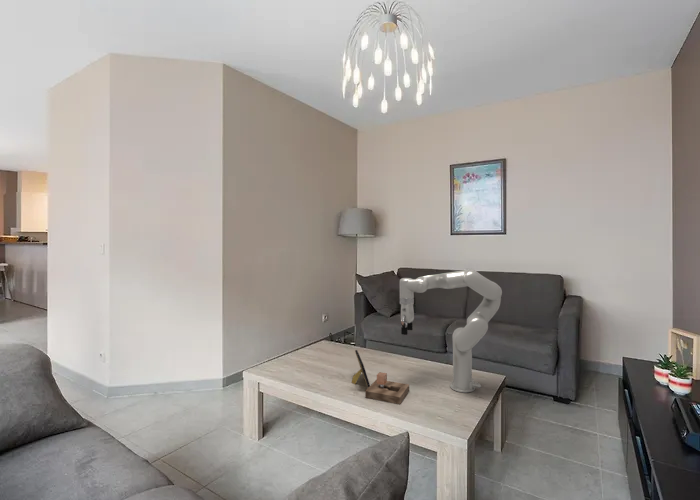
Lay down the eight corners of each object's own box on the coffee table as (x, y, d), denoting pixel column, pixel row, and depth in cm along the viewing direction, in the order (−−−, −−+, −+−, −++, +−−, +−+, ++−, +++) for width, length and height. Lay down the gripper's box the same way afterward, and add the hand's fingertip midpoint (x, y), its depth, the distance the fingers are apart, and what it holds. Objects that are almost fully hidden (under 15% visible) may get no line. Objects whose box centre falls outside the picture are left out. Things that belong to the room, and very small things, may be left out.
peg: (387, 392, 181) (387, 373, 181) (384, 395, 177) (384, 376, 177) (379, 390, 183) (379, 371, 183) (376, 394, 179) (376, 374, 179)
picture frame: (371, 391, 183) (368, 363, 182) (354, 394, 182) (351, 366, 181) (364, 374, 206) (361, 349, 205) (349, 376, 205) (346, 351, 204)
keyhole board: (409, 391, 182) (409, 384, 182) (400, 404, 168) (399, 397, 168) (376, 385, 190) (376, 379, 190) (365, 397, 176) (365, 390, 176)
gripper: (409, 304, 181) (409, 337, 182) (417, 298, 197) (417, 329, 197) (395, 303, 184) (395, 335, 185) (404, 297, 200) (405, 327, 200)
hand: (407, 332), depth 191 cm, fingers open, 9 cm apart
